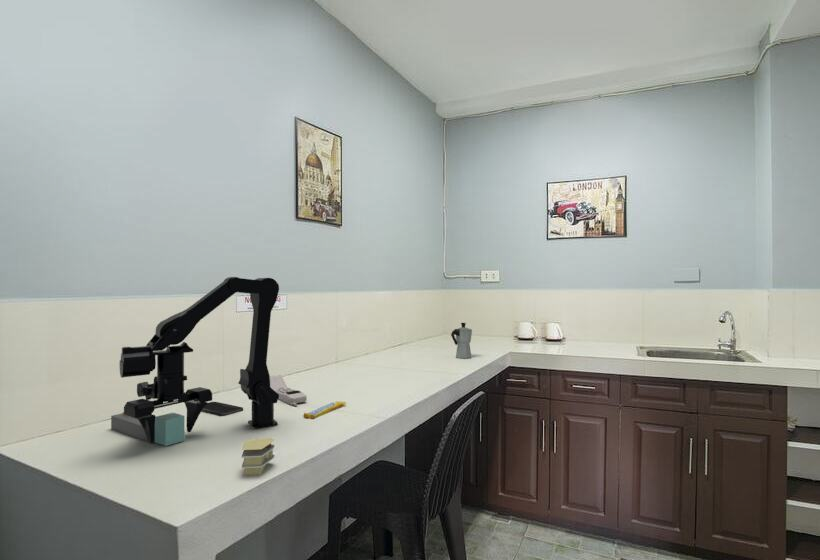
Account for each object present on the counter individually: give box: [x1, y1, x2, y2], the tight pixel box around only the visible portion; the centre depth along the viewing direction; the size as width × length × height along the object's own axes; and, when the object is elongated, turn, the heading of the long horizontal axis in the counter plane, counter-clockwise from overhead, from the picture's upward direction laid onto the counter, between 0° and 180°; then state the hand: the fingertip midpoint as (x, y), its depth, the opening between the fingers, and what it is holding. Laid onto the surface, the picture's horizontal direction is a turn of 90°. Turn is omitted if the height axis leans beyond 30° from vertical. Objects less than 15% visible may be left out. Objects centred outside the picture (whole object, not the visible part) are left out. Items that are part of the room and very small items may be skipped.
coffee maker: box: [450, 322, 473, 360], centre depth 235 cm, size 15×9×18 cm, turn 130°
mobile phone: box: [270, 374, 307, 407], centre depth 153 cm, size 6×6×25 cm
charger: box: [154, 412, 185, 447], centre depth 111 cm, size 8×4×6 cm, turn 56°
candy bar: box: [302, 401, 347, 419], centre depth 136 cm, size 17×4×2 cm, turn 154°
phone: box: [201, 401, 244, 417], centre depth 138 cm, size 8×1×15 cm
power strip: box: [110, 411, 156, 444], centre depth 117 cm, size 20×6×4 cm, turn 56°
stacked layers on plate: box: [241, 437, 276, 476], centre depth 94 cm, size 10×9×6 cm
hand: (170, 437), depth 110 cm, fingers open, 9 cm apart
